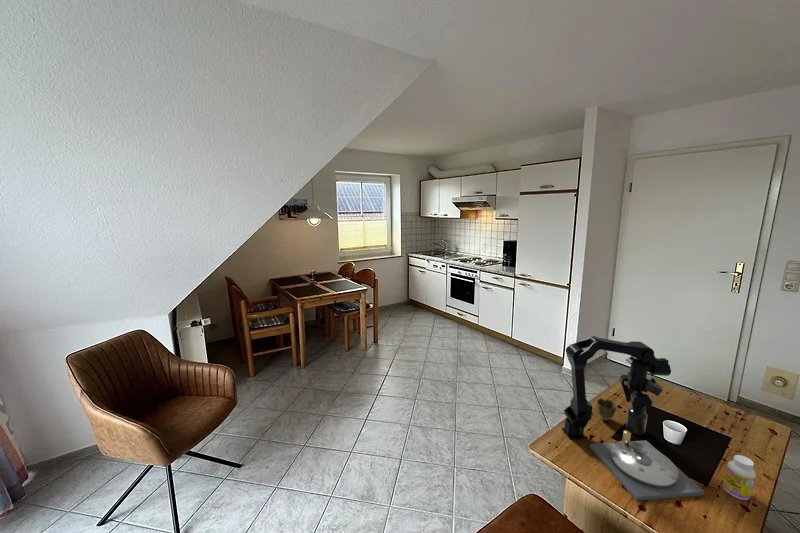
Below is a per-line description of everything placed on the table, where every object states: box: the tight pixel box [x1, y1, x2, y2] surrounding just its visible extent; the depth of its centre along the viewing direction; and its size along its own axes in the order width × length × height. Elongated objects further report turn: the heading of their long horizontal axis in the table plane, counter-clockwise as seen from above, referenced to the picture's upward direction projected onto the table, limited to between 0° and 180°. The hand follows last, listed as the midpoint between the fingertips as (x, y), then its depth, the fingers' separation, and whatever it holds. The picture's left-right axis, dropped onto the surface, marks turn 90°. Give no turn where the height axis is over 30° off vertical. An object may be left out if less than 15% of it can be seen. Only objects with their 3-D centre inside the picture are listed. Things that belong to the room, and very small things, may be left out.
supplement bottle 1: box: [625, 405, 648, 436], centre depth 142 cm, size 7×7×12 cm
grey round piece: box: [610, 429, 678, 488], centre depth 121 cm, size 20×20×7 cm
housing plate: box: [589, 439, 705, 502], centre depth 122 cm, size 24×24×2 cm
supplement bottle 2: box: [722, 454, 757, 501], centre depth 111 cm, size 7×7×13 cm
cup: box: [596, 398, 618, 422], centre depth 149 cm, size 8×7×8 cm
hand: (631, 408), depth 137 cm, fingers open, 9 cm apart
